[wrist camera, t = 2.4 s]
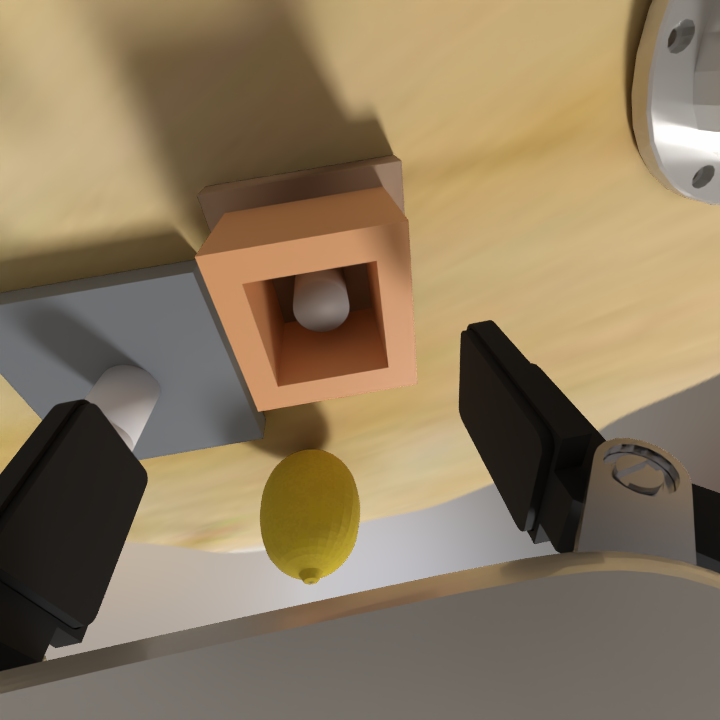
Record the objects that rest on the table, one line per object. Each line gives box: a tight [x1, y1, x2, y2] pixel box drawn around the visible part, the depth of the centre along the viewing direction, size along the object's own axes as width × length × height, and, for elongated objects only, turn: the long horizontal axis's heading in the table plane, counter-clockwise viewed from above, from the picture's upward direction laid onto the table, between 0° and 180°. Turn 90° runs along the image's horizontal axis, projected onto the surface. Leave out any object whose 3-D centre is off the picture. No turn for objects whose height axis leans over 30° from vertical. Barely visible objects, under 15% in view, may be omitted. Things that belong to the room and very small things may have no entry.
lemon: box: [260, 449, 360, 584], centre depth 21 cm, size 6×6×8 cm
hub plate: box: [0, 260, 266, 460], centre depth 17 cm, size 10×10×6 cm
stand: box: [197, 155, 405, 332], centre depth 15 cm, size 8×8×4 cm
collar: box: [195, 186, 417, 412], centre depth 14 cm, size 6×6×4 cm
